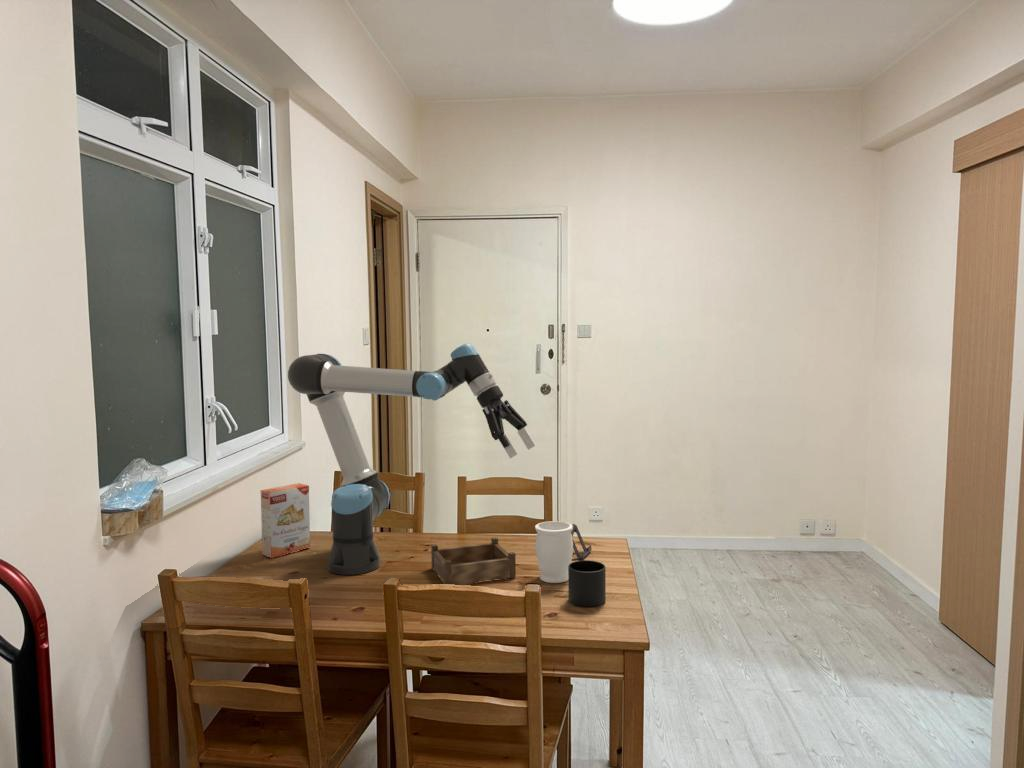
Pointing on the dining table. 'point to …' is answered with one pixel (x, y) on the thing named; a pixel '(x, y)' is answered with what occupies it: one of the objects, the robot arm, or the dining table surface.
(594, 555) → the dining table surface
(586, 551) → the portable electronic device stand
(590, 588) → the mug
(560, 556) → the jar
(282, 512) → the cracker box
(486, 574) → the crate
